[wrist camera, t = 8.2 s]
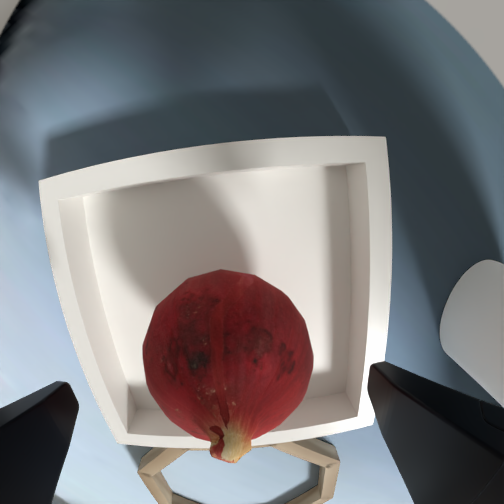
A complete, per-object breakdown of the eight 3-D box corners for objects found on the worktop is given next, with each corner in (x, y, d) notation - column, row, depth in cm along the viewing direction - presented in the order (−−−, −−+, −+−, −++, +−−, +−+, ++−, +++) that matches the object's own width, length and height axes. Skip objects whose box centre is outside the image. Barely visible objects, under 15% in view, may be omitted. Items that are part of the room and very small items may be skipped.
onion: (145, 271, 13) (60, 377, 5) (270, 232, 13) (334, 309, 5) (191, 375, 14) (174, 509, 6) (301, 344, 14) (358, 472, 6)
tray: (357, 145, 13) (385, 136, 10) (356, 393, 16) (372, 424, 13) (72, 180, 13) (38, 180, 10) (131, 411, 16) (117, 443, 13)
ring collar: (339, 407, 16) (346, 423, 15) (325, 504, 19) (328, 515, 18) (122, 421, 16) (116, 435, 14) (176, 513, 19) (174, 524, 17)
